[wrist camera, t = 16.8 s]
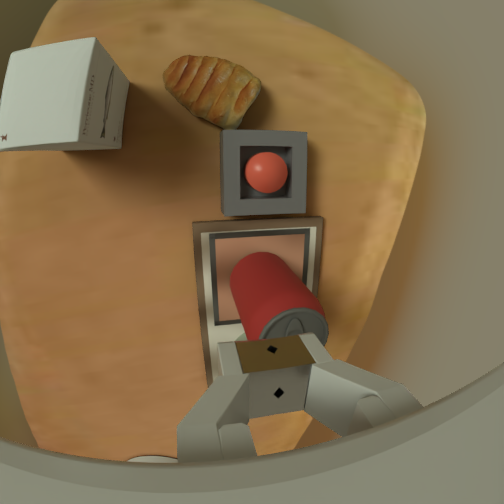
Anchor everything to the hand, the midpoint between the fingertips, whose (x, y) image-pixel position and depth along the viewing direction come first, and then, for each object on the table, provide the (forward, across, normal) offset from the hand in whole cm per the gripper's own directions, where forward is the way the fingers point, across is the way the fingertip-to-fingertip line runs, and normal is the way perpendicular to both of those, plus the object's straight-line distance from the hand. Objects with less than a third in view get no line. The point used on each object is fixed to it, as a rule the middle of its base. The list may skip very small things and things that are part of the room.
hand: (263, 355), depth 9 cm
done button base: (+23, -5, -5) cm, 24 cm away
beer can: (+22, -5, +6) cm, 23 cm away
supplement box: (+22, +12, -12) cm, 28 cm away
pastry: (+23, 0, -13) cm, 26 cm away
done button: (+21, -5, -5) cm, 22 cm away
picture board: (+23, -5, +11) cm, 26 cm away
